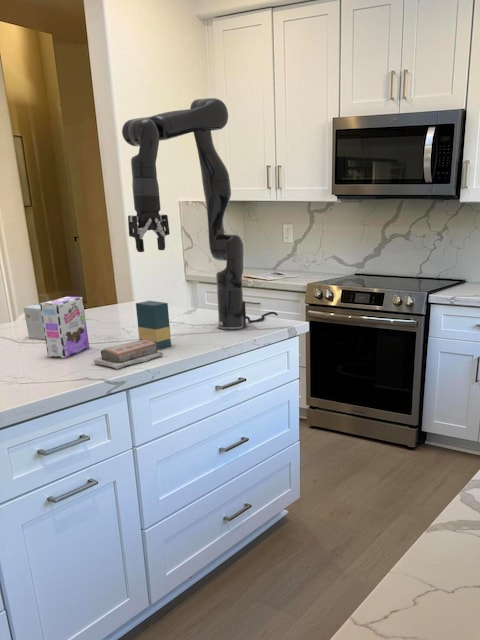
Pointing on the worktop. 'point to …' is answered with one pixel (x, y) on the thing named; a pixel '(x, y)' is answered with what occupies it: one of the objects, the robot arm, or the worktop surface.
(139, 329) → the tea box
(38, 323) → the small box
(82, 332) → the candy box
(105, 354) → the packaged product
